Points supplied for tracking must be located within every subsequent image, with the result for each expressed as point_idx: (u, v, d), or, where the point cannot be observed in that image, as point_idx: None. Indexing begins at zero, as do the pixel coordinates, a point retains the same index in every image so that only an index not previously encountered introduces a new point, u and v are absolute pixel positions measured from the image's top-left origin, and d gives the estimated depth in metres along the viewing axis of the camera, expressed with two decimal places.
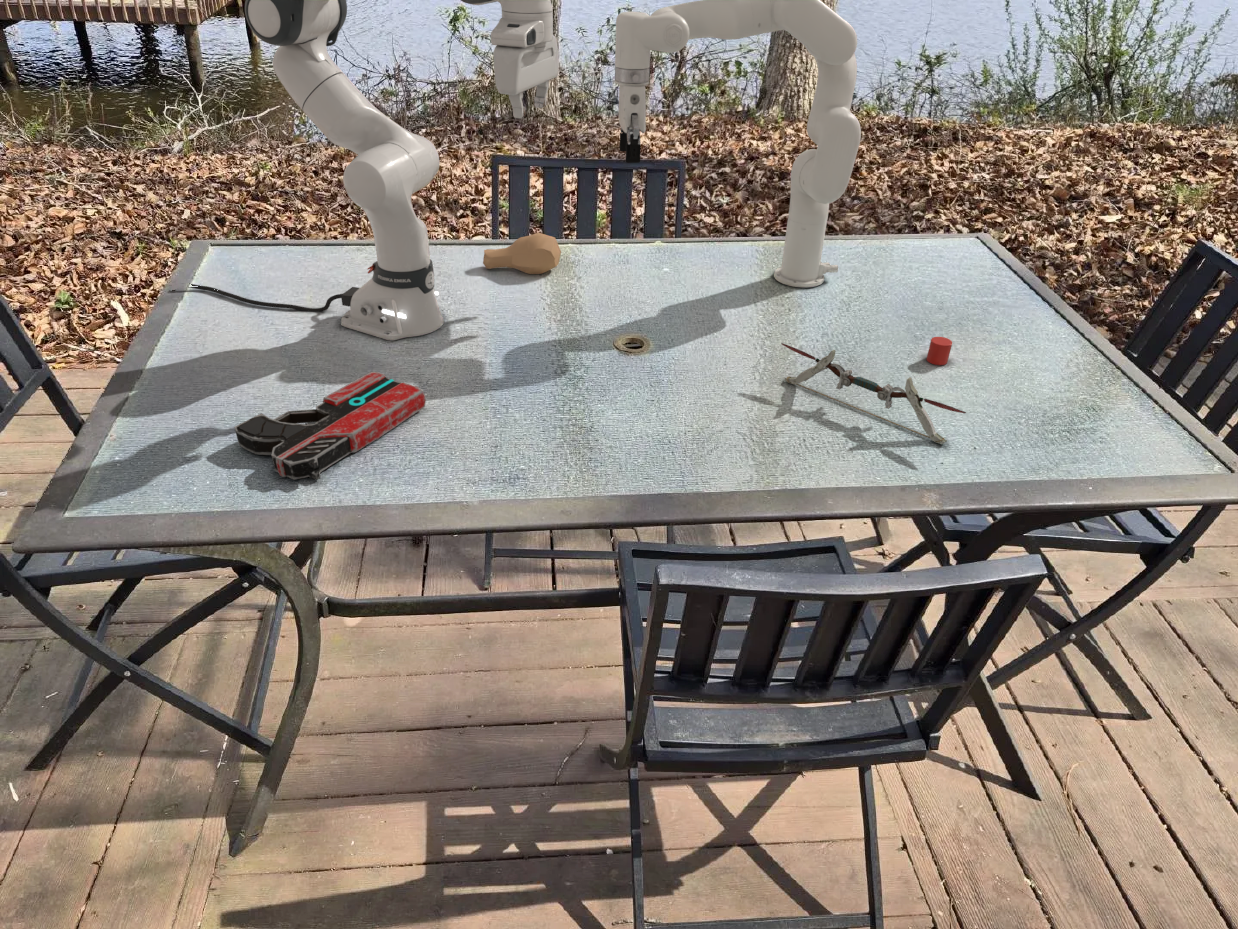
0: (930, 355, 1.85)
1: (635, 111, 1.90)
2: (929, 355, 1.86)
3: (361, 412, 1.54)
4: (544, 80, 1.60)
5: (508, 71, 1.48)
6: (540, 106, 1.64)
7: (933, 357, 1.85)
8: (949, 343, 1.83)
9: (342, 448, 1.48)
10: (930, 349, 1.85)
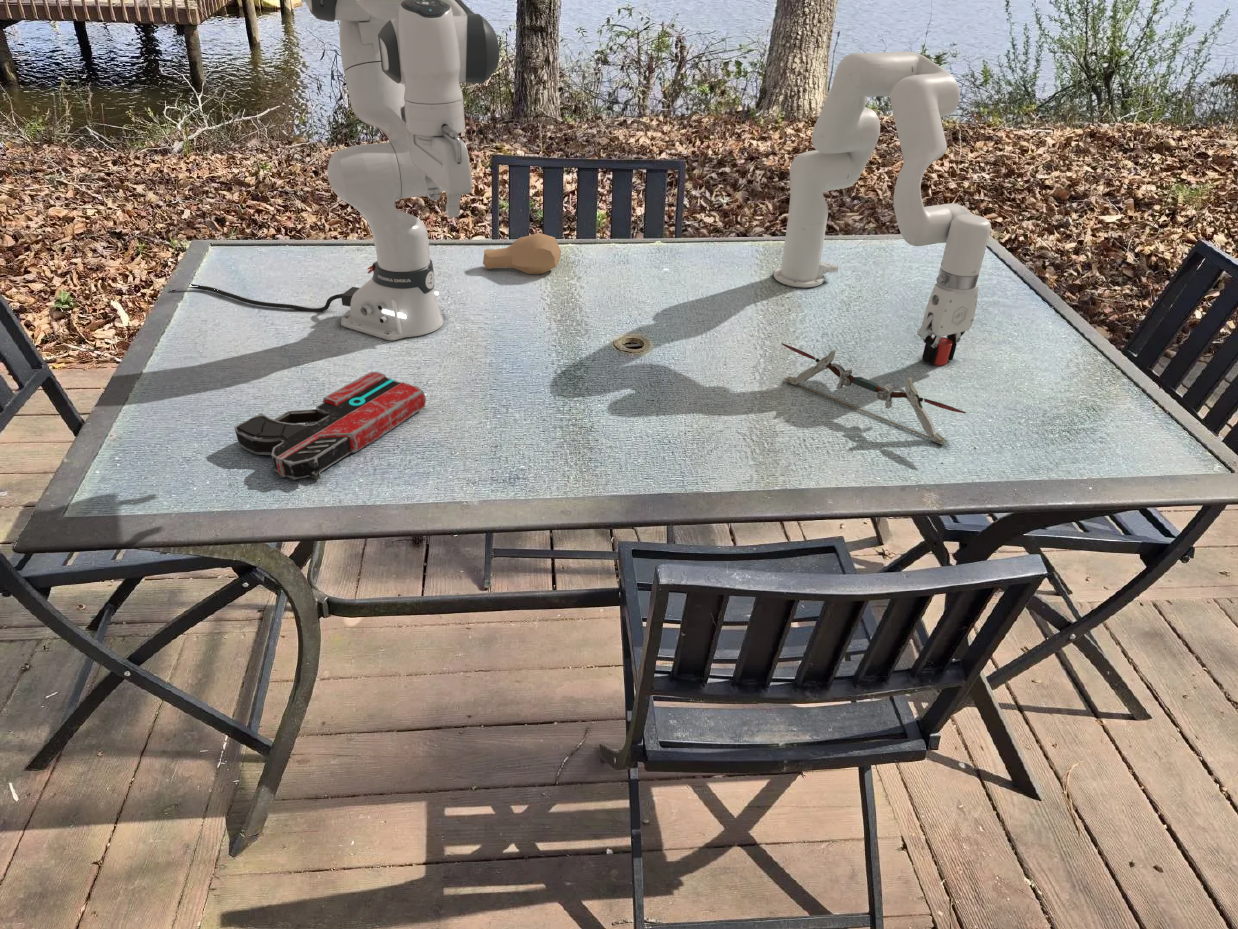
0: None
1: (932, 311, 1.78)
2: None
3: (361, 412, 1.54)
4: (435, 181, 1.37)
5: None
6: None
7: None
8: (949, 343, 1.83)
9: (342, 448, 1.48)
10: None
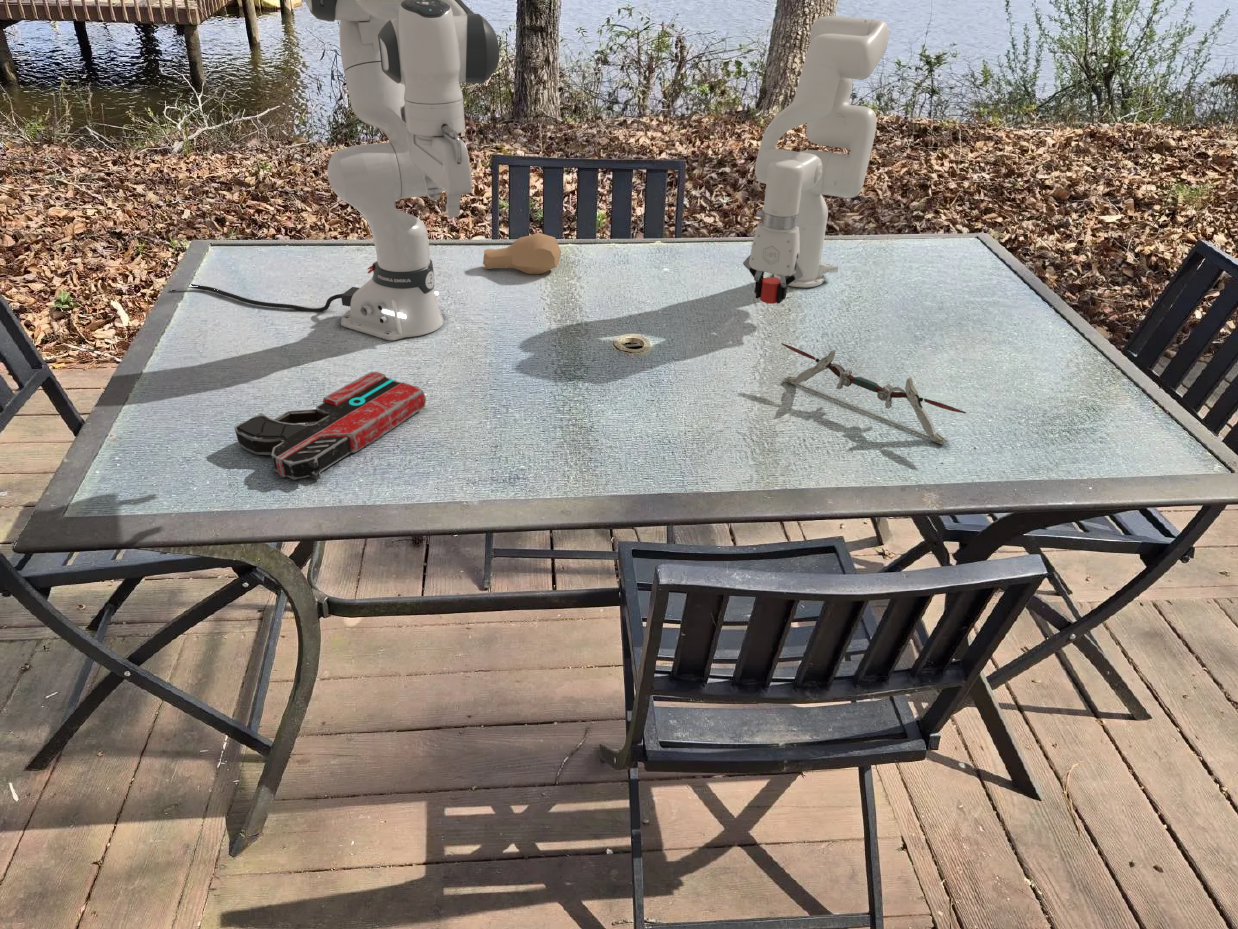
0: None
1: None
2: None
3: (361, 412, 1.54)
4: (435, 181, 1.37)
5: None
6: None
7: None
8: (772, 283, 1.96)
9: (342, 448, 1.48)
10: None
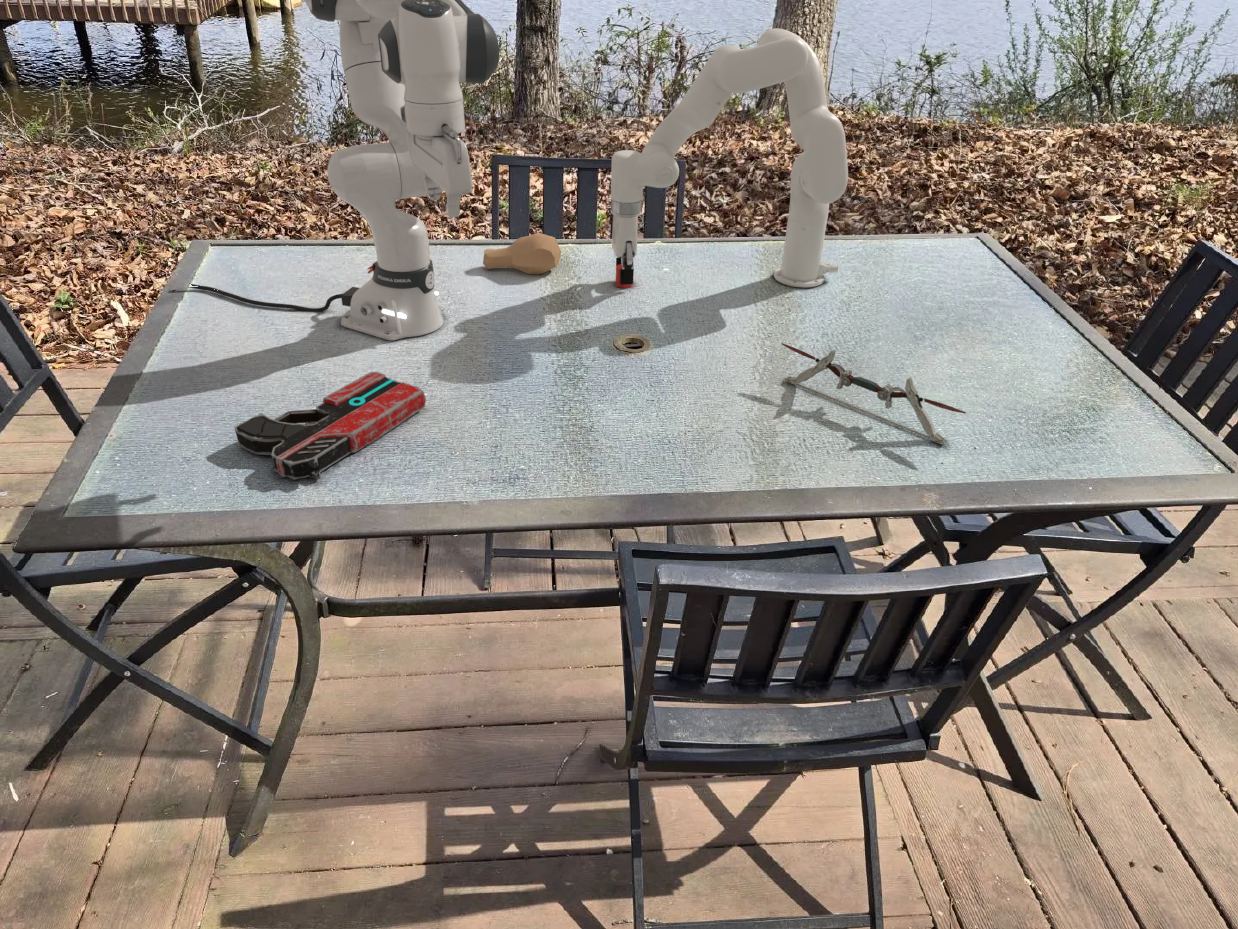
0: None
1: None
2: None
3: (361, 412, 1.54)
4: (435, 181, 1.37)
5: None
6: None
7: None
8: (618, 267, 2.14)
9: (342, 448, 1.48)
10: None
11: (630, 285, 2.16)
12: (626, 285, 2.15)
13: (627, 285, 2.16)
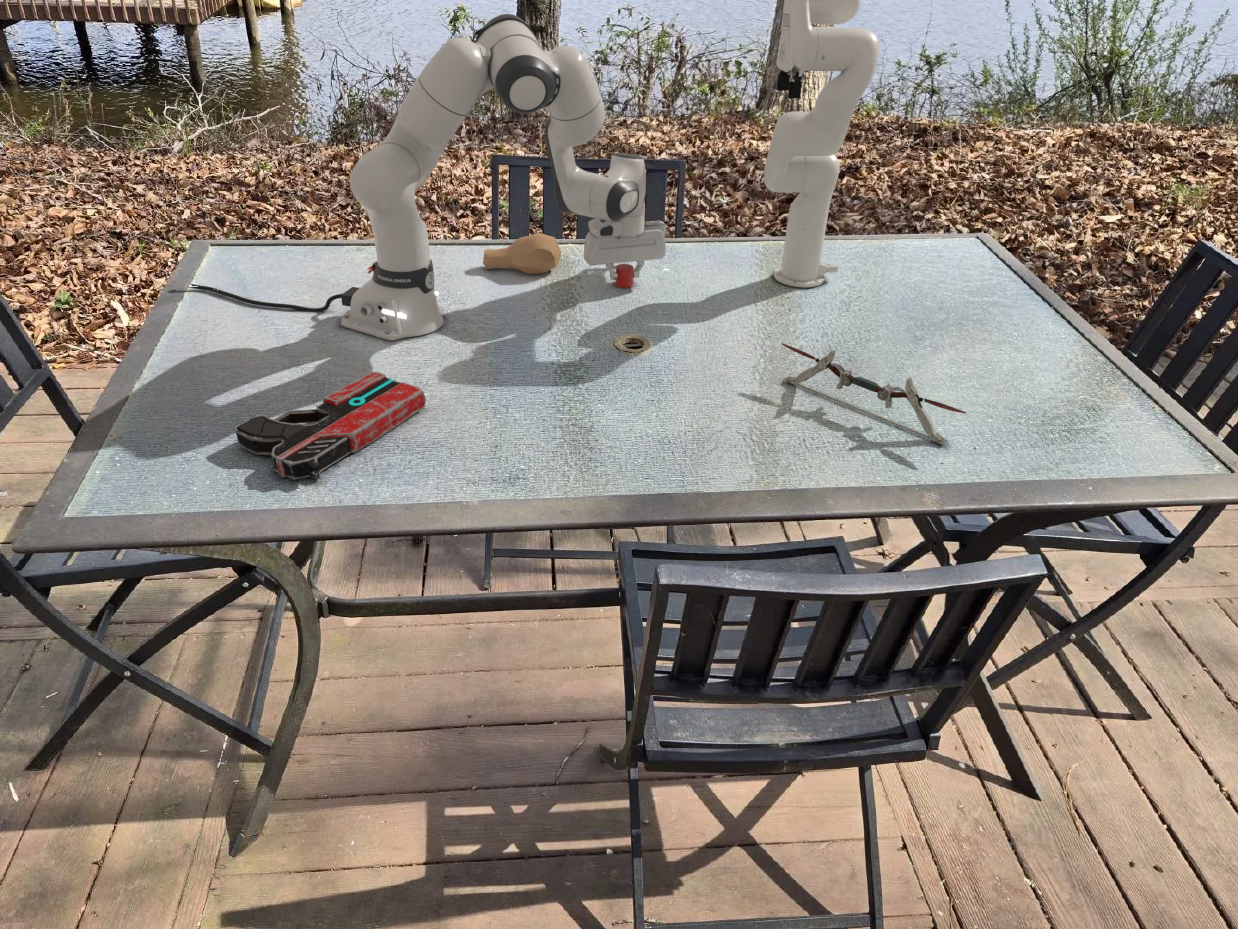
0: None
1: None
2: None
3: (361, 412, 1.54)
4: (638, 259, 2.13)
5: (587, 249, 2.09)
6: (633, 276, 2.17)
7: None
8: (618, 267, 2.14)
9: (342, 448, 1.48)
10: None
11: (630, 285, 2.16)
12: (626, 285, 2.15)
13: (627, 285, 2.16)
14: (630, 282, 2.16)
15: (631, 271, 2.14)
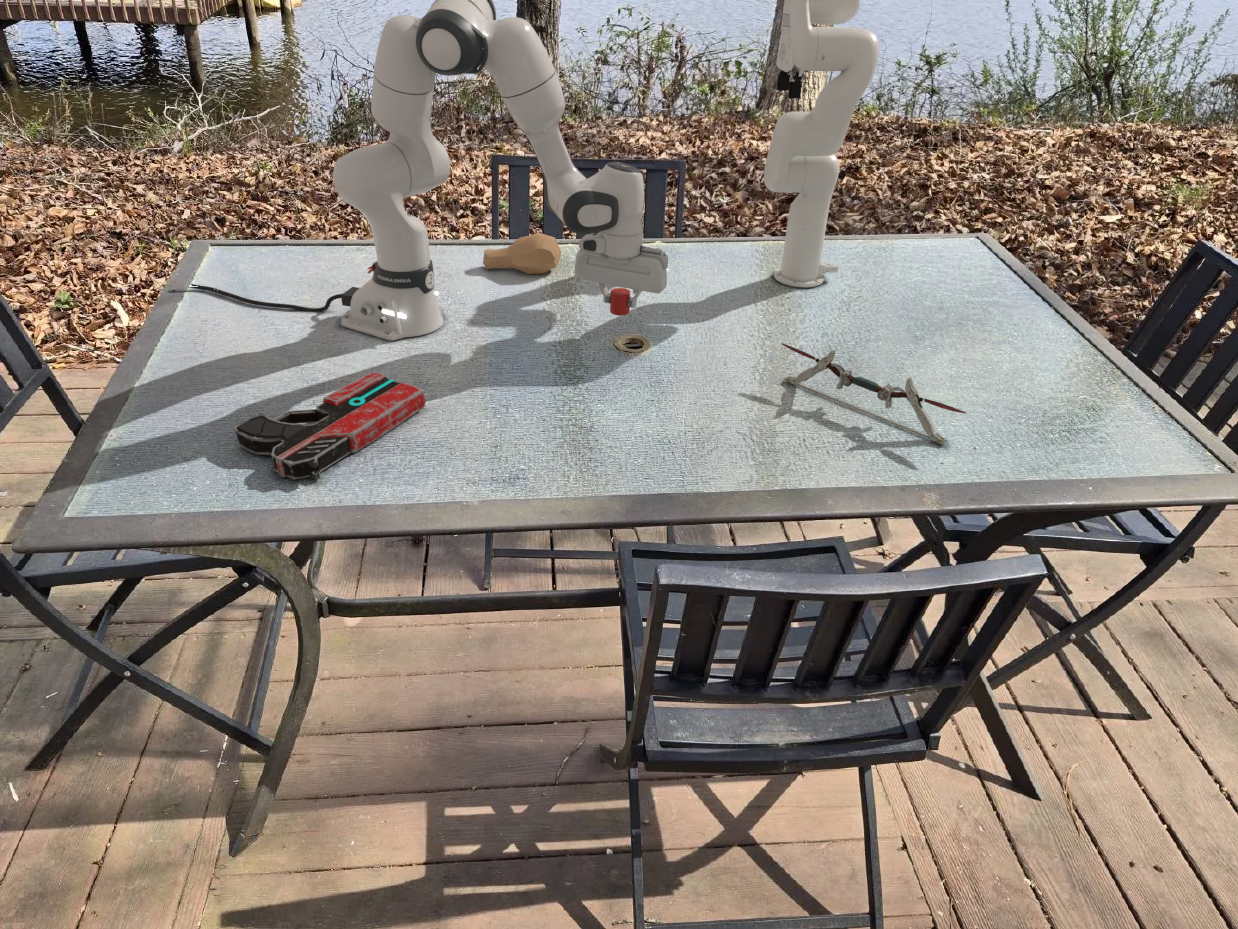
0: None
1: None
2: None
3: (361, 412, 1.54)
4: (629, 287, 1.86)
5: None
6: None
7: None
8: (612, 290, 1.90)
9: (342, 448, 1.48)
10: None
11: (620, 313, 1.90)
12: (615, 312, 1.90)
13: (616, 312, 1.90)
14: (621, 310, 1.90)
15: (622, 298, 1.88)
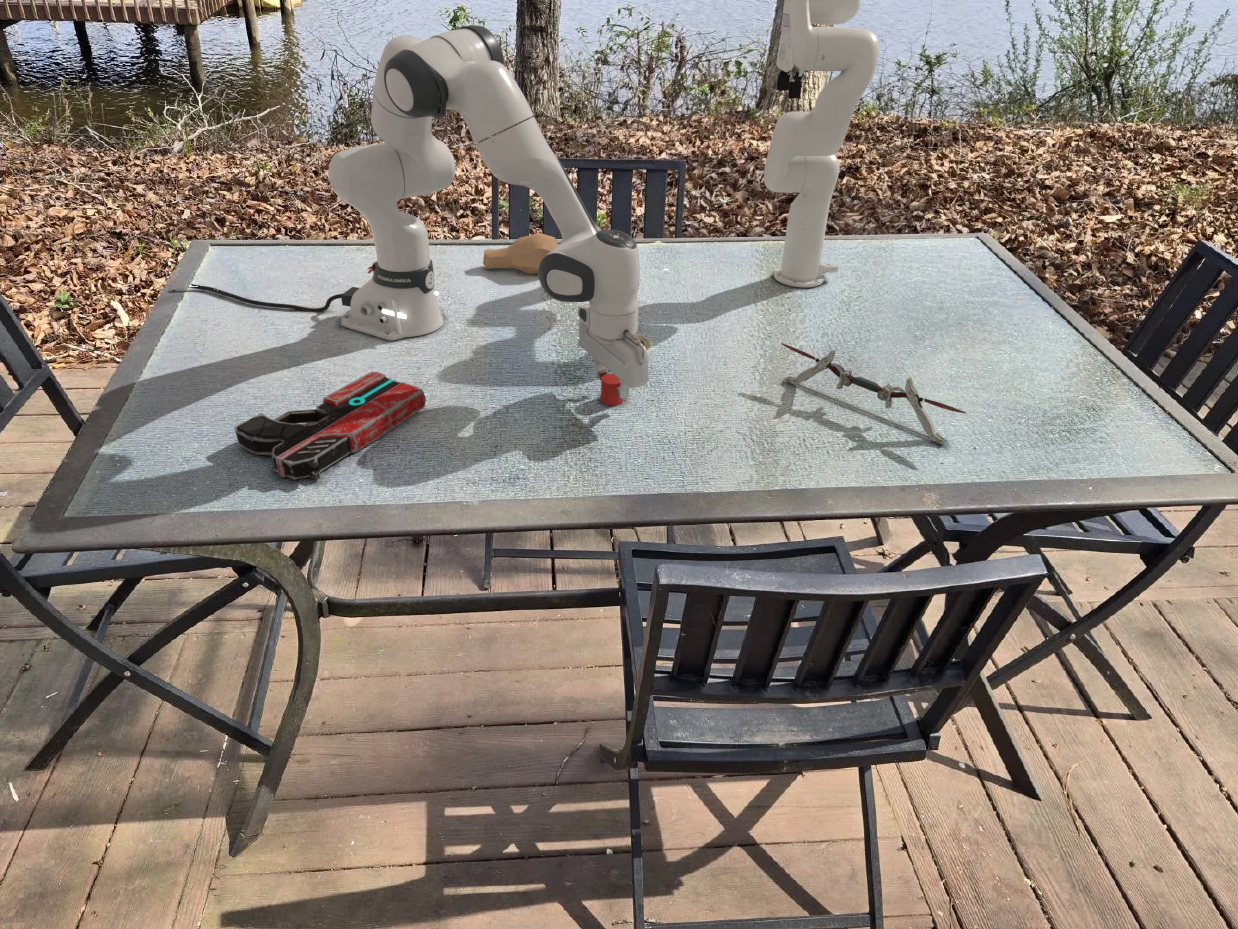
0: None
1: None
2: None
3: (361, 412, 1.54)
4: (612, 372, 1.62)
5: None
6: None
7: None
8: (606, 375, 1.68)
9: (342, 448, 1.48)
10: None
11: (606, 402, 1.68)
12: (602, 399, 1.68)
13: (602, 399, 1.68)
14: (606, 399, 1.67)
15: (607, 386, 1.65)
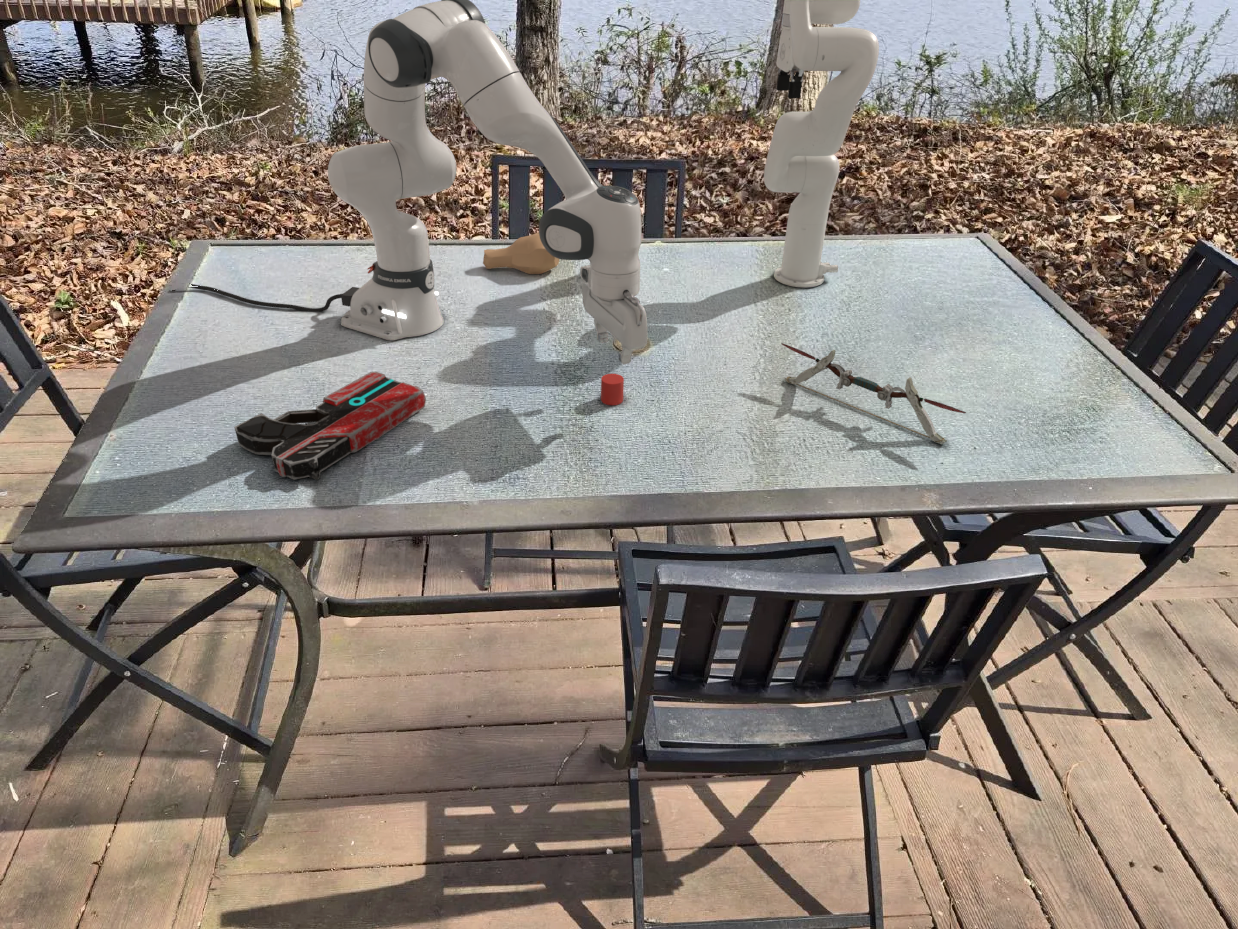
0: None
1: None
2: None
3: (361, 412, 1.54)
4: (612, 334, 1.58)
5: None
6: None
7: None
8: (606, 375, 1.68)
9: (342, 448, 1.48)
10: (623, 387, 1.68)
11: (606, 402, 1.68)
12: (602, 399, 1.68)
13: (602, 399, 1.68)
14: (606, 399, 1.67)
15: (607, 386, 1.65)
